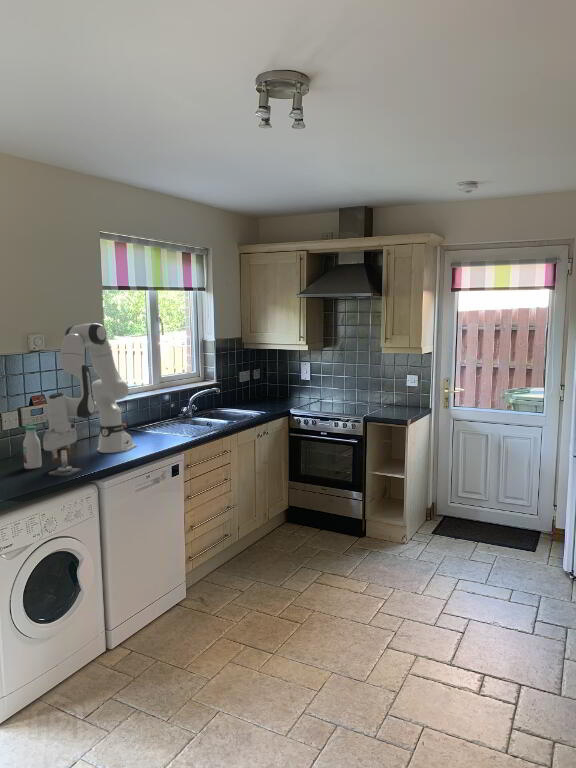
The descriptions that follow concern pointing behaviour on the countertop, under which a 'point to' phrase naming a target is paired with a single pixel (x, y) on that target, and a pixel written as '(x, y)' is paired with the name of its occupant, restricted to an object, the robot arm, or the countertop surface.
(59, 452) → the collar
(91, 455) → the countertop surface
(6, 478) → the countertop surface
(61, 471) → the post
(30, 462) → the milk bottle
